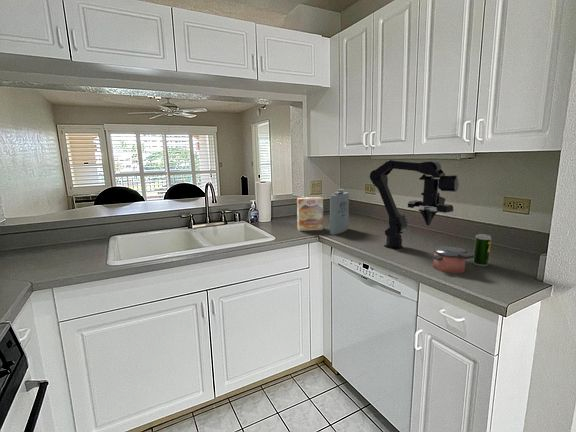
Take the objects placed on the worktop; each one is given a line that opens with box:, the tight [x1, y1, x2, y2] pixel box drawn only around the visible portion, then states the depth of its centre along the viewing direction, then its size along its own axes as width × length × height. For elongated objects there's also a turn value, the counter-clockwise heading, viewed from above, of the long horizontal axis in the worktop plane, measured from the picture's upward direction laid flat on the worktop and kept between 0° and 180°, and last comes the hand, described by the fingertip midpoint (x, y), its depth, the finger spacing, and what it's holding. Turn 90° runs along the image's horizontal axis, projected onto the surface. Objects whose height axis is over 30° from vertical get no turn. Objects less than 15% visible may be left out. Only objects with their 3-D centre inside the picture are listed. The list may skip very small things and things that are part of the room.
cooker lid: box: [433, 245, 474, 260], centre depth 119 cm, size 14×11×1 cm
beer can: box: [472, 233, 492, 267], centre depth 124 cm, size 5×5×12 cm
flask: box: [329, 188, 350, 235], centre depth 181 cm, size 17×5×25 cm, turn 141°
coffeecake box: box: [296, 196, 324, 232], centre depth 189 cm, size 15×7×20 cm, turn 97°
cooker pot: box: [431, 251, 467, 274], centre depth 122 cm, size 12×15×6 cm
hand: (428, 225), depth 138 cm, fingers closed
